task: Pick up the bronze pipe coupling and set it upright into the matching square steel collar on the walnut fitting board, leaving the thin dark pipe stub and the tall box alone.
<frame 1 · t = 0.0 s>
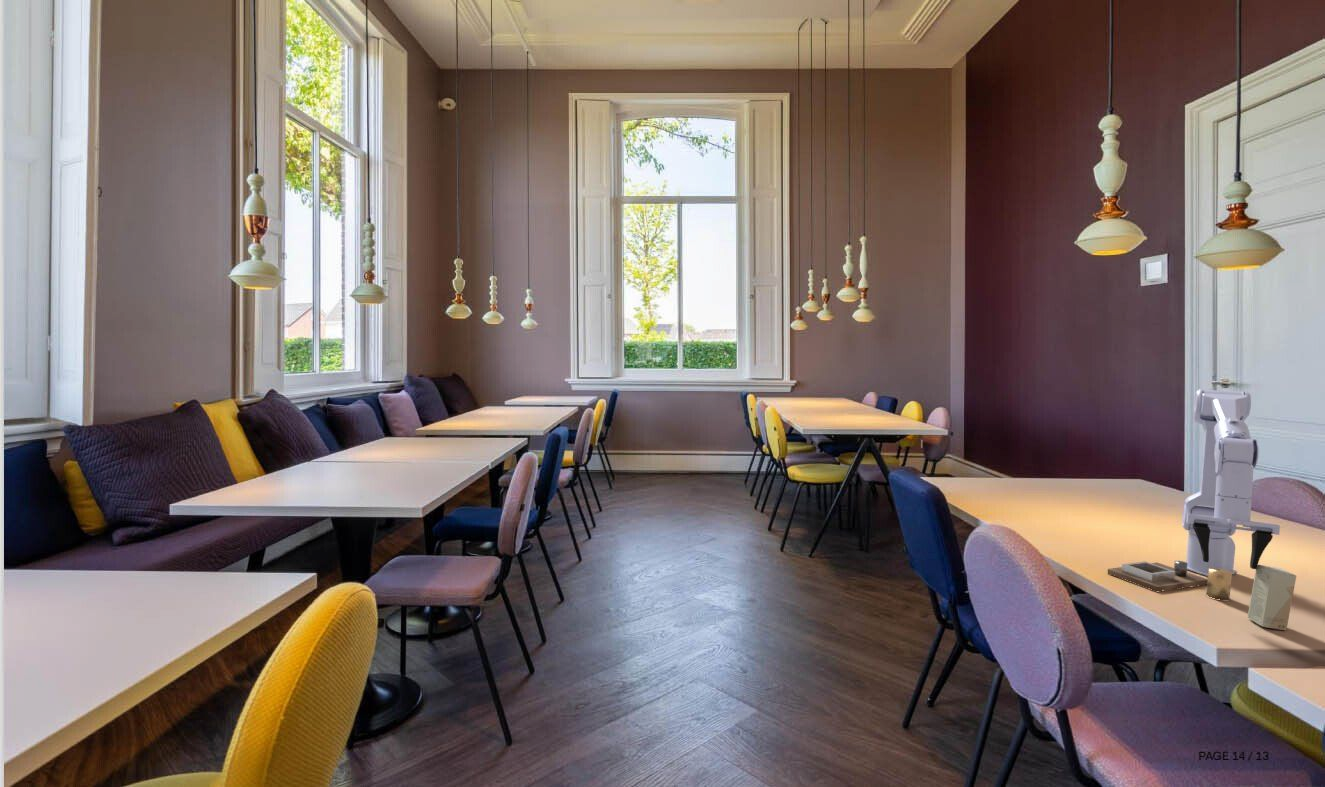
hand: (1229, 565, 142), 11 cm above the table, tool pointing down, fingers open, 7 cm apart
coupling: (1217, 597, 153), on the table
box: (1265, 624, 139), on the table, touching gripper
fitting board: (1156, 579, 164), on the table
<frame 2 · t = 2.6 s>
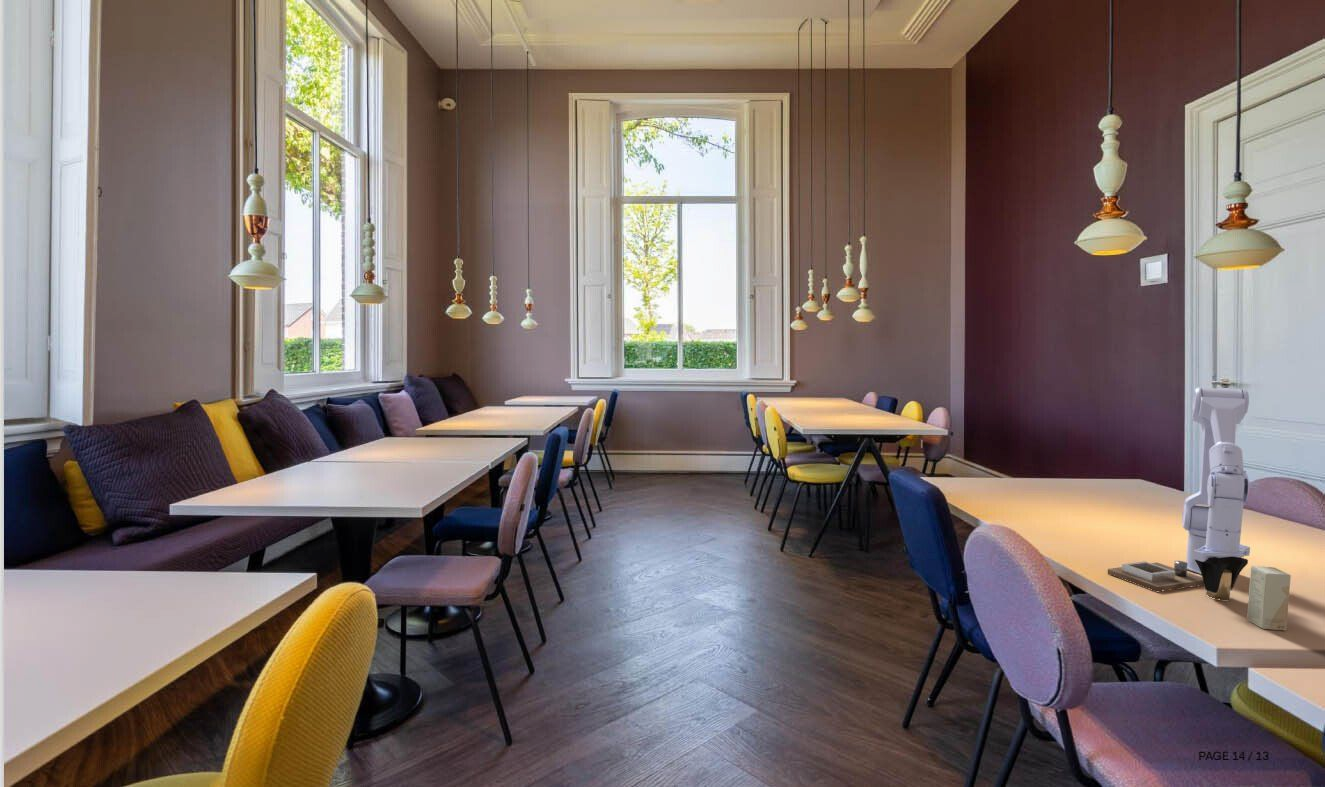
hand: (1218, 589, 153), 2 cm above the table, tool pointing down, fingers closed on coupling, 4 cm apart
coupling: (1217, 597, 153), on the table, touching gripper
box: (1265, 625, 139), on the table
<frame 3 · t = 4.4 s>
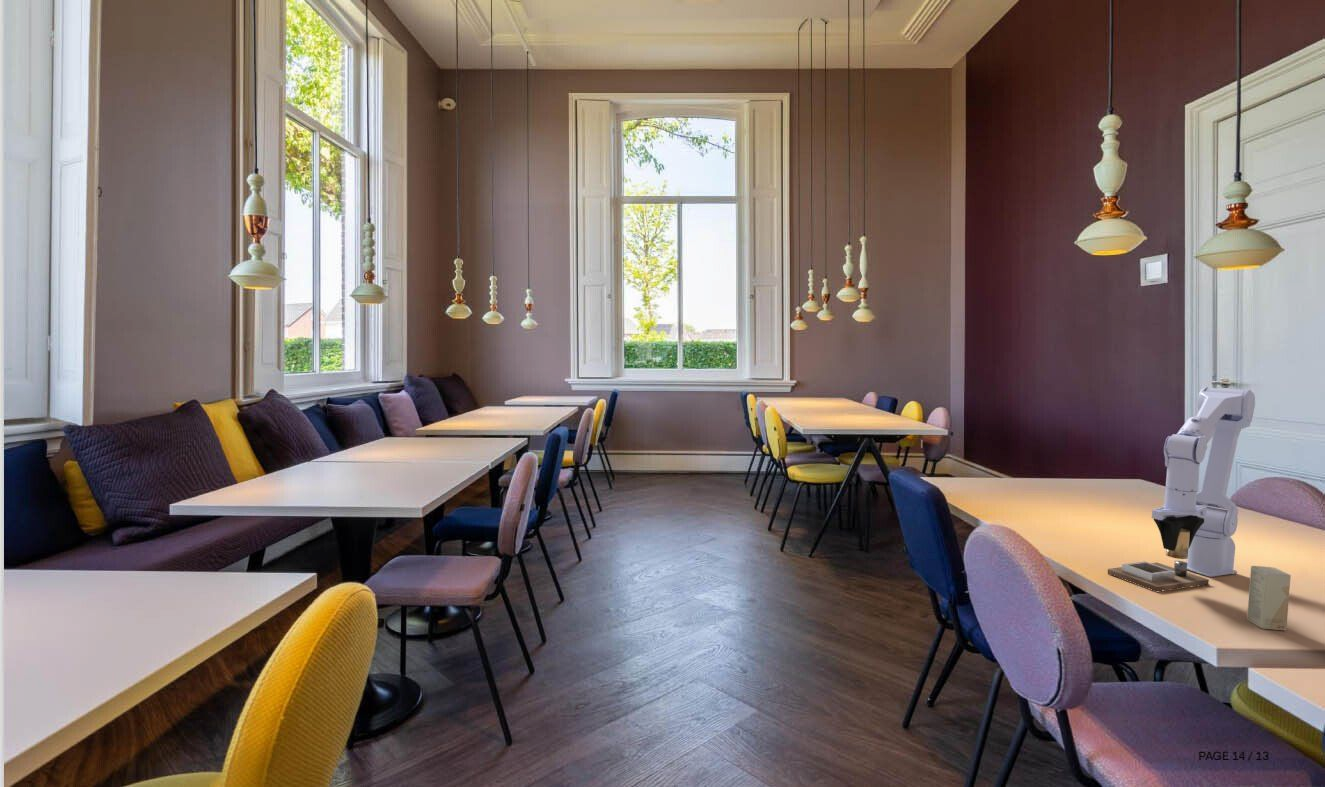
hand: (1176, 548, 158), 9 cm above the table, tool pointing down, fingers closed on coupling, 4 cm apart
coupling: (1176, 556, 158), point 7 cm above the table, touching gripper
everything else where it was.
when the fingers open (4 cm above the table, at t = 6.4 s): coupling drops 1 cm, resting on fitting board.
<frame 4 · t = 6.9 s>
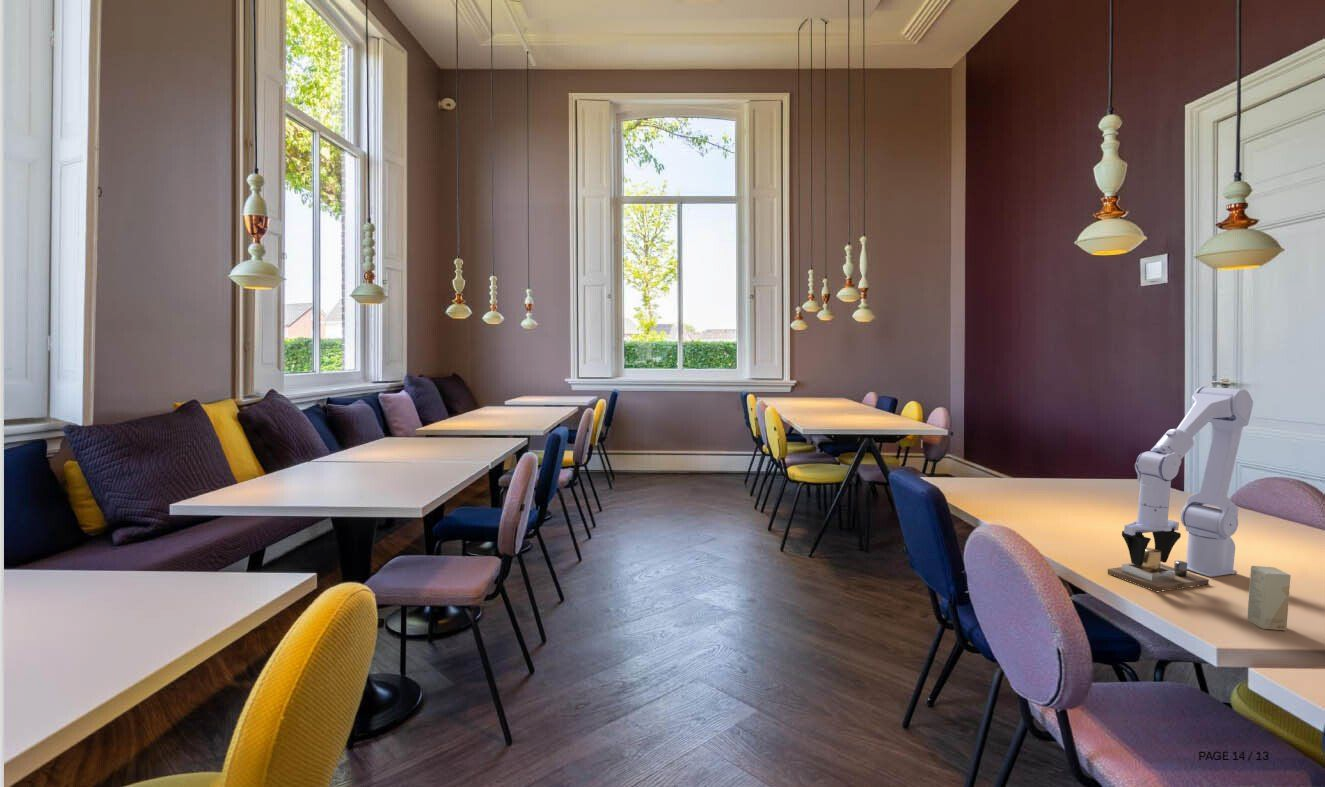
hand: (1148, 562, 162), 4 cm above the table, tool pointing down, fingers open, 7 cm apart
coupling: (1148, 575, 162), point 1 cm above the table, touching fitting board
everything else where it was.
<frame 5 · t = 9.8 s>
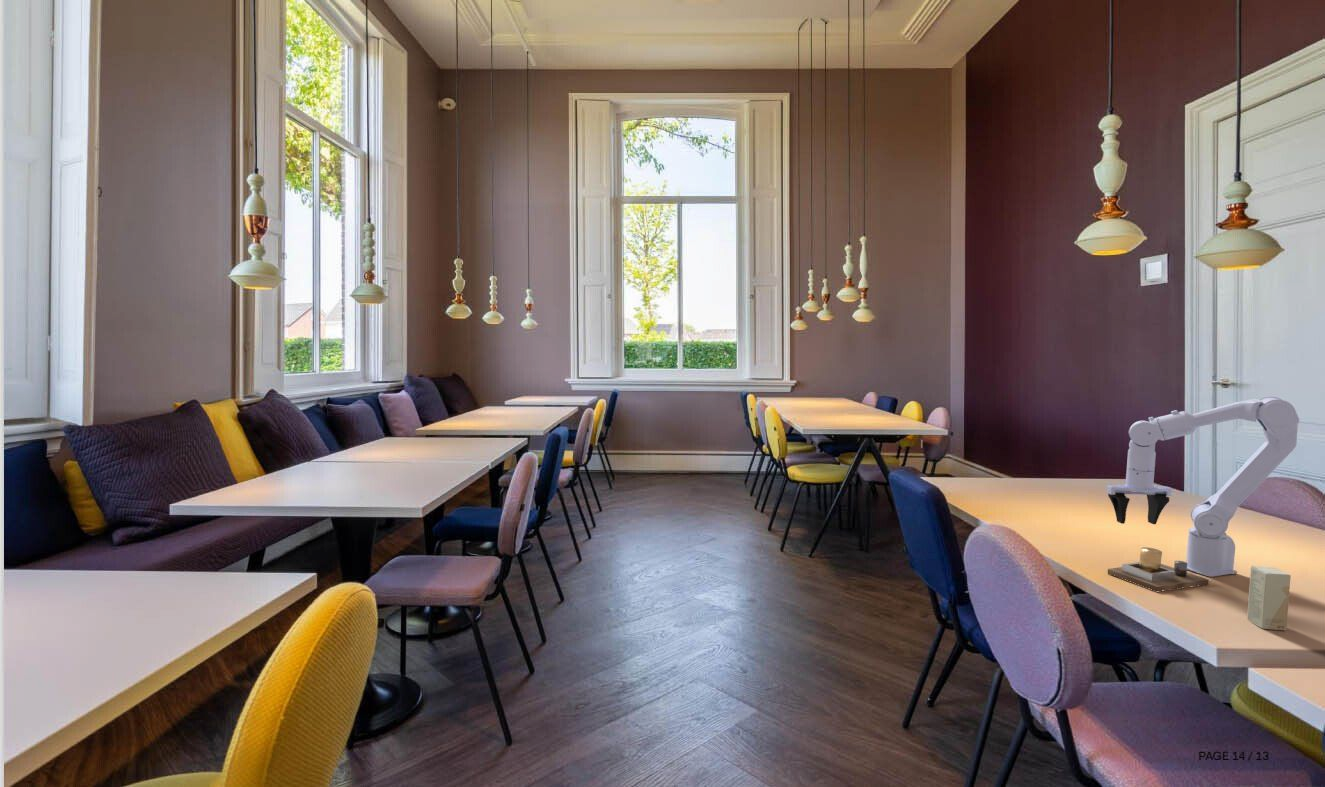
hand: (1136, 522, 177), 9 cm above the table, tool pointing down, fingers open, 7 cm apart
nothing on the table moved.
at the end: coupling 0.2 cm from the target spot on the fitting board, point 1.2 cm above the fitting board's base; coupling tilted 1°; the gripper is holding nothing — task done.
